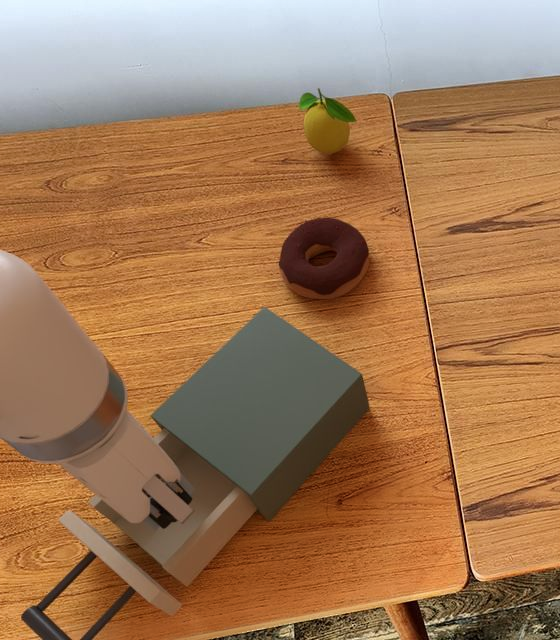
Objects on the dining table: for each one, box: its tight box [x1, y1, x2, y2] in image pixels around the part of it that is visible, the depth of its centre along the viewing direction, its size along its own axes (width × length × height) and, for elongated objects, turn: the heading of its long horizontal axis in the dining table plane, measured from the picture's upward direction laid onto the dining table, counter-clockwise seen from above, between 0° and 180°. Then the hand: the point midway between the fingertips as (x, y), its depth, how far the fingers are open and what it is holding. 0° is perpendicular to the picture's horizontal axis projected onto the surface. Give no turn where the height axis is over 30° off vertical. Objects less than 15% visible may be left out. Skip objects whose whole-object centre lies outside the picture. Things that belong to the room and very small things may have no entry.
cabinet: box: [150, 306, 371, 522], centre depth 73 cm, size 15×13×8 cm
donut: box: [278, 216, 370, 300], centre depth 85 cm, size 10×10×4 cm
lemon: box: [297, 87, 358, 155], centre depth 92 cm, size 7×6×10 cm
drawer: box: [20, 428, 257, 640], centre depth 66 cm, size 21×11×6 cm, turn 144°
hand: (154, 493), depth 64 cm, fingers closed on block, 4 cm apart
